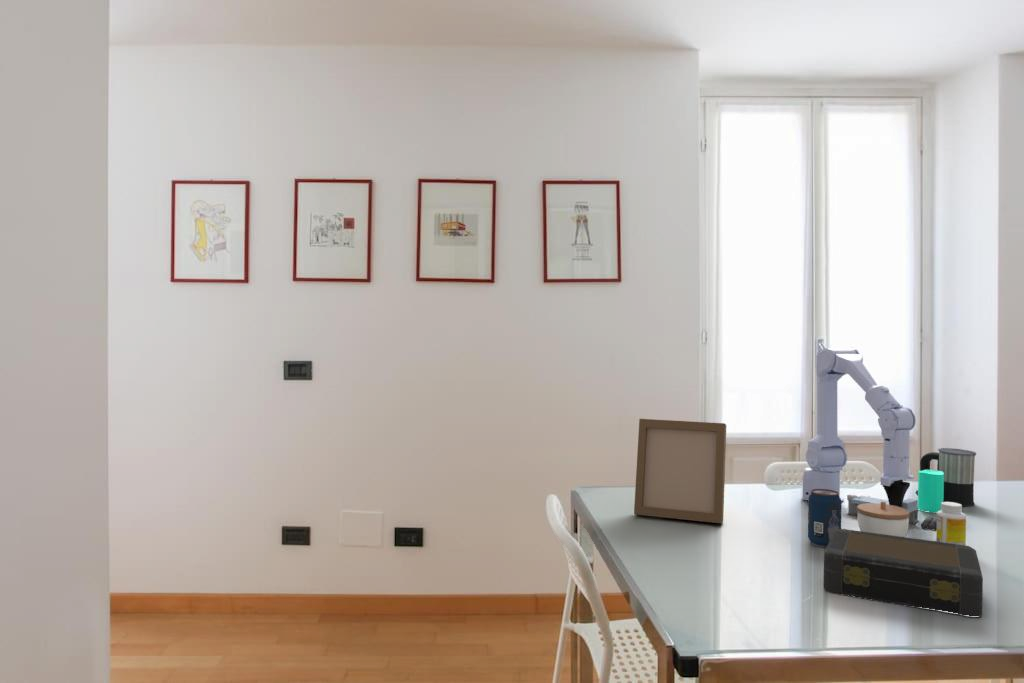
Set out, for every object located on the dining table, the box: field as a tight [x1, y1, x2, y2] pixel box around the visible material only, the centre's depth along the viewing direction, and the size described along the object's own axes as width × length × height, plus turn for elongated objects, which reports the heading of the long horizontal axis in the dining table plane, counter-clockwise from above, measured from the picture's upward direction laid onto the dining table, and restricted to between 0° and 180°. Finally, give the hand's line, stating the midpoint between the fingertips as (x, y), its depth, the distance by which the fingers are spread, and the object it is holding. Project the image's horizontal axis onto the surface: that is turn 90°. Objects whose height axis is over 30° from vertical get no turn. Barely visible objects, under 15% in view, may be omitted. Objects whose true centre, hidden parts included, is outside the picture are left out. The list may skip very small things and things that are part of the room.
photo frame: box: [633, 418, 727, 524], centre depth 185 cm, size 15×22×25 cm
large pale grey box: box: [847, 500, 919, 526], centre depth 185 cm, size 16×6×3 cm, turn 51°
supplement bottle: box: [935, 502, 967, 546], centre depth 158 cm, size 6×6×10 cm
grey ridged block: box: [920, 515, 937, 530], centre depth 177 cm, size 5×9×2 cm, turn 141°
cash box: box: [823, 528, 984, 617], centre depth 135 cm, size 25×20×8 cm
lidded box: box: [846, 494, 918, 512], centre depth 184 cm, size 16×6×2 cm, turn 40°
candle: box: [917, 469, 944, 513], centre depth 192 cm, size 6×6×12 cm
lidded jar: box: [856, 501, 910, 537], centre depth 163 cm, size 11×11×9 cm
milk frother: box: [915, 447, 977, 507], centre depth 199 cm, size 14×16×15 cm
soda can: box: [807, 489, 843, 549], centre depth 161 cm, size 7×7×12 cm
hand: (895, 510), depth 177 cm, fingers closed
